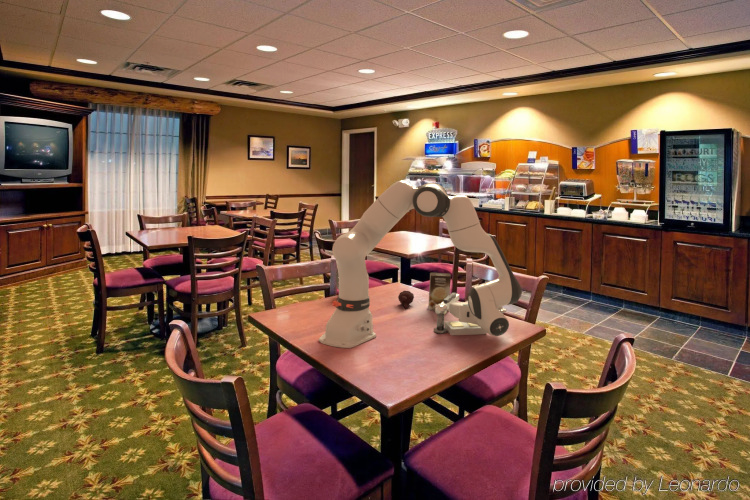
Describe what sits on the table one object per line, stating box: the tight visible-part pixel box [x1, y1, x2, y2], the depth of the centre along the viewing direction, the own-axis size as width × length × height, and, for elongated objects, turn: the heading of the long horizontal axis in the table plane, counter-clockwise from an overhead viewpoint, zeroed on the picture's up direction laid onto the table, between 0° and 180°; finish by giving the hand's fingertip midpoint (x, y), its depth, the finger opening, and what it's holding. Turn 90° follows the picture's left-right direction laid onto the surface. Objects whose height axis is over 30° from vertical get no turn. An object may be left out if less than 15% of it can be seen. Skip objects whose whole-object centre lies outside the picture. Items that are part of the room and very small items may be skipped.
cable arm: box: [434, 292, 460, 315], centre depth 178 cm, size 22×4×4 cm, turn 153°
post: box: [433, 313, 448, 334], centre depth 171 cm, size 5×5×7 cm
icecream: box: [397, 290, 415, 309], centre depth 206 cm, size 7×7×15 cm
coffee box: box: [427, 272, 452, 312], centre depth 199 cm, size 9×6×16 cm
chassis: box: [444, 320, 488, 336], centre depth 173 cm, size 14×9×3 cm, turn 98°
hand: (469, 302), depth 179 cm, fingers closed
